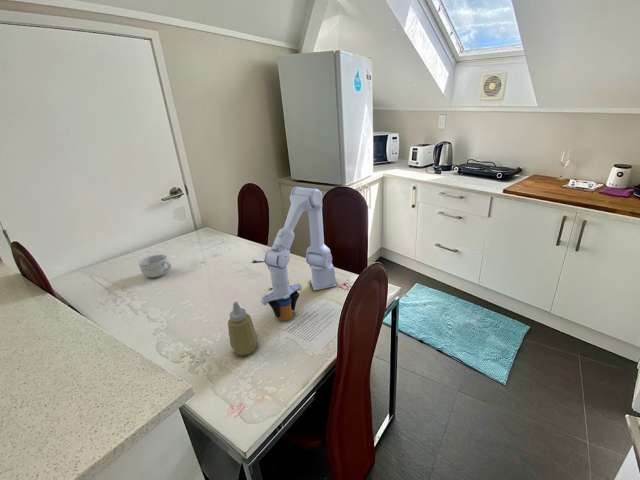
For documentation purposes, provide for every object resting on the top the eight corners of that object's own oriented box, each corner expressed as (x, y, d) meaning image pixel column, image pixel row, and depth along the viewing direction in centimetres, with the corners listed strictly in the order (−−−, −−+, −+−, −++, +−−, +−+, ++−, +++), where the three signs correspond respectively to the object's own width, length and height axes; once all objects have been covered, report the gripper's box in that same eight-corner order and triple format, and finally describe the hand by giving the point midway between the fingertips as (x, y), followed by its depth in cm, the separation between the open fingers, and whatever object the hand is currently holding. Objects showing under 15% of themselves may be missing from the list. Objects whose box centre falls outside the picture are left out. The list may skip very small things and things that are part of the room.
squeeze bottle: (237, 341, 103) (226, 295, 96) (262, 339, 104) (253, 294, 97) (228, 359, 96) (216, 312, 89) (255, 357, 96) (245, 310, 89)
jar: (291, 310, 118) (288, 293, 115) (294, 318, 114) (291, 301, 111) (277, 314, 116) (274, 297, 113) (280, 322, 112) (277, 304, 109)
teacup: (138, 277, 141) (132, 262, 138) (161, 266, 150) (156, 251, 147) (159, 283, 136) (153, 267, 133) (181, 271, 145) (176, 256, 142)
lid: (276, 298, 114) (275, 293, 114) (292, 296, 115) (291, 292, 115) (274, 307, 109) (273, 303, 108) (291, 305, 110) (290, 301, 109)
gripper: (265, 294, 102) (271, 327, 107) (304, 278, 110) (308, 309, 116) (256, 285, 106) (262, 317, 112) (294, 270, 115) (298, 301, 121)
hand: (285, 312), depth 114 cm, fingers closed on lid, 5 cm apart
